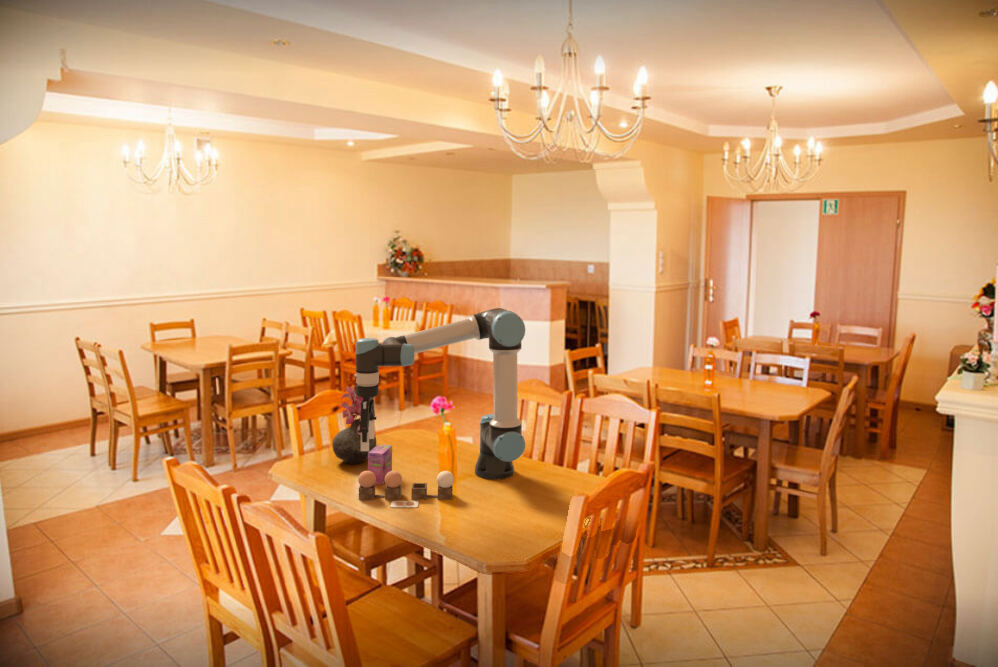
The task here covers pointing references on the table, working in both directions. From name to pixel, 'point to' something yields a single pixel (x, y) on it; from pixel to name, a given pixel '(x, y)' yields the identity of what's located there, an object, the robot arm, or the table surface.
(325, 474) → the table surface
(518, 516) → the table surface
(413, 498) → the rack
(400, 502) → the card
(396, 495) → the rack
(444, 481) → the ball cream
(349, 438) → the vase
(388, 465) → the box
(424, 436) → the table surface
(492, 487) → the table surface
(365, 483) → the terracotta ball
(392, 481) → the terracotta ball
